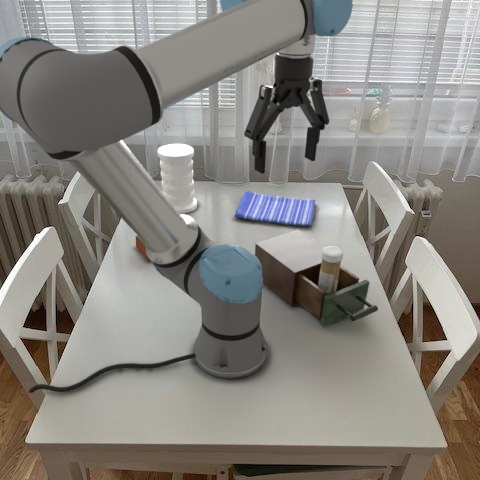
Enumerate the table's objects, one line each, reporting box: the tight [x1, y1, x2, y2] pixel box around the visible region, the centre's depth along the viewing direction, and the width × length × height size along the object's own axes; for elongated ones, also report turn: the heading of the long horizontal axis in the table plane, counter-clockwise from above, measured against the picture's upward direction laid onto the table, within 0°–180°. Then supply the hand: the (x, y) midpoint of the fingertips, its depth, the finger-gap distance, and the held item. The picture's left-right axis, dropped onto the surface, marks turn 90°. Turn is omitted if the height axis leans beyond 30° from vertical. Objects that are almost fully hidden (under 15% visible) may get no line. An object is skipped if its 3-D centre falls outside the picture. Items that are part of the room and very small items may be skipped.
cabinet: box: [254, 229, 326, 307], centre depth 122 cm, size 16×14×10 cm
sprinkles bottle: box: [318, 245, 344, 296], centre depth 112 cm, size 5×5×13 cm
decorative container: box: [156, 143, 198, 214], centre depth 152 cm, size 12×12×18 cm
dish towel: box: [234, 190, 316, 227], centre depth 155 cm, size 17×24×3 cm
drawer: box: [294, 265, 379, 328], centre depth 113 cm, size 20×12×8 cm, turn 34°
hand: (285, 165), depth 105 cm, fingers open, 13 cm apart
